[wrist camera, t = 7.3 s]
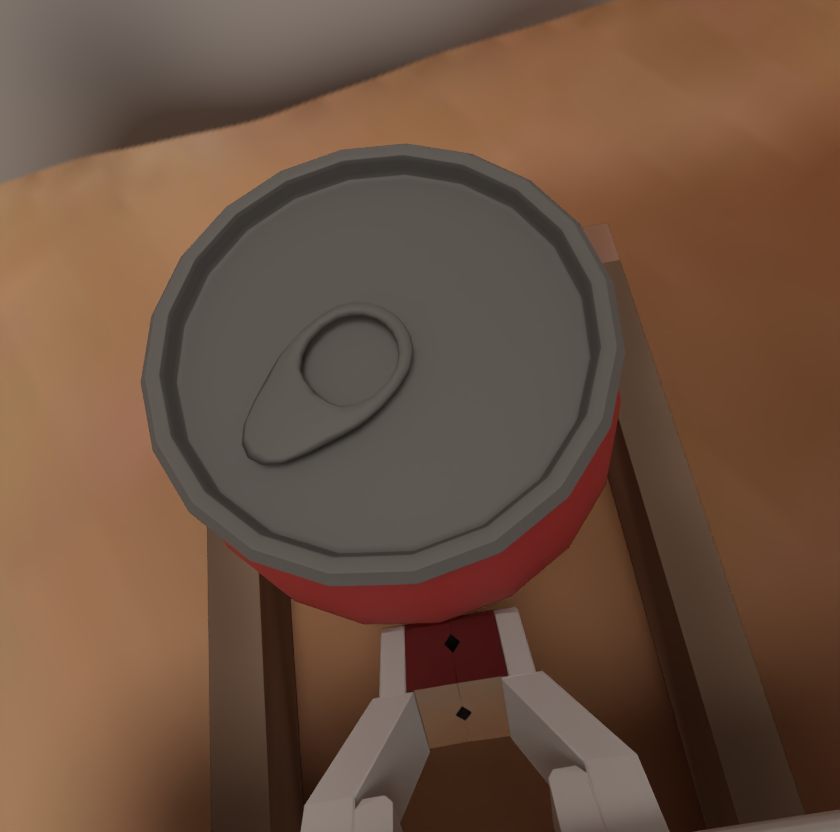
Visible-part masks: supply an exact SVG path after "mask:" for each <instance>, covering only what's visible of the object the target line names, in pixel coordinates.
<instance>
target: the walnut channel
mask: <svg viewBox="0 0 840 832" xmlns="http://www.w3.org/2000/svg"><path fill="white" fill-rule="evenodd" d="M582 229H583V230H584V232H585V234H586V236H587V237H588V239H589V241H590V243H591V244H592V246H593V248H594V250H595V251H596V253H597V255H598V256H599V258H600V260H601V262H602V263H603V265H604V267H605V269H606V270H607V272H608V274H609V276H610V277H611V279H612V281H613V283H614V289H615V295H616V301H617V306H618V312H619V318H620V324H621V330H622V336H623V342H624V347H625V357H624V362H623V367H622V372H621V377H620V383H619V391H620V397H621V405H620V410H619V416H618V422H617V427H616V432H615V438H614V443H613V448H612V453H611V459H610V464H609V469H608V478H609V482H610V486H611V489H612V493H613V496H614V500H615V504H616V507H617V511H618V514H619V518H620V521H621V525H622V529H623V532H624V536H625V539H626V543H627V546H628V550H629V554H630V557H631V561H632V564H633V568H634V572H635V575H636V579H637V582H638V586H639V589H640V593H641V597H642V600H643V604H644V607H645V611H646V615H647V618H648V622H649V625H650V629H651V632H652V636H653V640H654V643H655V647H656V650H657V654H658V658H659V661H660V665H661V668H662V672H663V675H664V679H665V683H666V686H667V690H668V693H669V697H670V700H671V704H672V708H673V711H674V715H675V718H676V722H677V726H678V729H679V733H680V736H681V740H682V743H683V747H684V751H685V754H686V758H687V761H688V765H689V769H690V772H691V776H692V779H693V783H694V786H695V790H696V794H697V797H698V801H699V804H700V808H701V811H702V815H703V819H704V822H705V826H706V829H713V828H720V827H726V826H733V825H740V824H746V823H753V822H759V821H766V820H773V819H779V818H786V817H792V816H799V815H806V814H805V811H804V808H803V805H802V802H801V799H800V796H799V793H798V790H797V787H796V784H795V781H794V778H793V775H792V772H791V769H790V766H789V763H788V760H787V757H786V755H785V752H784V749H783V746H782V743H781V740H780V737H779V734H778V731H777V728H776V725H775V722H774V719H773V716H772V713H771V710H770V707H769V704H768V701H767V698H766V695H765V692H764V689H763V686H762V683H761V680H760V677H759V674H758V671H757V668H756V665H755V662H754V659H753V656H752V653H751V650H750V647H749V644H748V641H747V638H746V635H745V632H744V629H743V626H742V623H741V620H740V617H739V614H738V611H737V608H736V605H735V602H734V599H733V596H732V593H731V590H730V587H729V584H728V581H727V578H726V575H725V572H724V569H723V566H722V563H721V560H720V557H719V555H718V552H717V549H716V546H715V543H714V540H713V537H712V534H711V531H710V528H709V525H708V522H707V519H706V516H705V513H704V510H703V507H702V504H701V501H700V498H699V495H698V492H697V489H696V486H695V483H694V480H693V477H692V474H691V471H690V468H689V465H688V462H687V459H686V456H685V453H684V450H683V447H682V444H681V441H680V438H679V435H678V432H677V429H676V426H675V423H674V420H673V417H672V414H671V411H670V408H669V405H668V402H667V399H666V396H665V393H664V390H663V387H662V384H661V381H660V378H659V375H658V372H657V369H656V366H655V363H654V360H653V357H652V354H651V352H650V349H649V346H648V343H647V340H646V337H645V334H644V331H643V328H642V325H641V322H640V319H639V316H638V313H637V310H636V307H635V304H634V301H633V298H632V295H631V292H630V289H629V286H628V283H627V280H626V277H625V274H624V271H623V268H622V265H621V262H620V259H619V256H618V253H617V250H616V247H615V244H614V241H613V238H612V235H611V232H610V229H609V226H608V223H603V224H597V225H592V226H587V227H582ZM207 560H208V631H209V702H210V774H211V832H301V826H302V819H303V812H304V807H303V791H302V776H301V760H300V745H299V729H298V713H297V698H296V682H295V667H294V651H293V636H292V620H291V604H290V597H289V596H288V595H286V594H285V593H284V592H283V591H281V590H280V589H279V588H278V587H276V586H275V585H274V584H273V583H271V582H270V581H269V580H268V579H266V578H265V577H264V576H263V575H261V574H260V573H259V572H258V571H256V570H255V569H254V568H253V567H251V566H250V565H249V564H248V563H246V562H245V561H244V560H243V559H241V558H240V557H239V556H238V555H236V554H235V553H234V552H233V551H231V550H230V549H229V548H228V547H227V546H226V545H225V543H224V541H223V540H222V538H221V537H220V536H218V535H217V534H216V533H215V532H213V531H212V530H211V529H210V528H208V527H207Z"/></svg>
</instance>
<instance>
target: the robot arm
mask: <svg viewBox="0 0 840 832" xmlns="http://www.w3.org/2000/svg"><path fill="white" fill-rule="evenodd" d="M508 736H511V739H512V740H513V741H514V743H515V744H516V745H517V746H518V748H519V749H520V750H521V751H522V753H523V754H524V755H525V756H526V757H527V759H528V760H529V761H530V762H531V764H532V765H533V766H534V767H535V769H536V770H537V771H538V772H539V774H540V775H541V776H542V777H543V778H544V780H545V781H546V782H547V783H548V785H549V789H550V798H551V808H552V817H553V826H554V832H670V831H669V829H668V827H667V824H666V822H665V819H664V817H663V815H662V812H661V810H660V808H659V805H658V803H657V800H656V798H655V796H654V793H653V791H652V789H651V786H650V784H649V781H648V779H647V777H646V774H645V772H644V770H643V767H642V765H641V762H640V760H639V758H638V755H637V754H636V753H635V752H634V751H633V750H632V749H630V748H629V747H628V746H627V745H626V744H625V743H624V742H623V741H621V740H620V739H619V738H618V737H617V736H616V735H615V734H614V733H612V732H611V731H610V730H609V729H608V728H607V727H606V726H605V725H603V724H602V723H601V722H600V721H599V720H598V719H597V718H596V717H594V716H593V715H592V714H591V713H590V712H589V711H588V710H587V709H585V708H584V707H583V706H582V705H581V704H580V703H579V702H578V701H576V700H575V699H574V698H573V697H572V696H571V695H570V694H569V693H567V692H566V691H565V690H564V689H563V688H562V687H561V686H560V685H558V684H557V683H556V682H555V681H554V680H553V679H552V678H551V677H549V676H548V675H547V674H546V673H545V672H544V671H538V672H536V670H535V666H534V663H533V659H532V656H531V652H530V649H529V645H528V642H527V639H526V635H525V632H524V628H523V625H522V621H521V618H520V614H519V611H518V609H517V608H516V606H515V607H509V608H504V609H498V610H494V612H493V610H490V611H485V612H479V613H474V614H468V615H463V616H457V617H454V618H451V619H448V620H446V621H443V622H440V623H414V624H407V625H402V626H396V627H389V628H383V630H382V633H381V653H380V689H379V697H378V698H373V699H372V700H371V702H370V703H369V705H368V707H367V708H366V710H365V711H364V713H363V714H362V716H361V718H360V719H359V721H358V722H357V724H356V725H355V727H354V728H353V730H352V732H351V733H350V735H349V736H348V738H347V739H346V741H345V743H344V744H343V746H342V747H341V749H340V750H339V752H338V754H337V755H336V757H335V758H334V760H333V761H332V763H331V765H330V766H329V768H328V769H327V771H326V772H325V774H324V776H323V777H322V779H321V780H320V782H319V783H318V785H317V787H316V788H315V790H314V791H313V793H312V794H311V796H310V798H309V799H308V801H307V802H306V804H305V805H304V812H303V819H302V826H301V832H403V830H402V827H401V824H400V823H401V820H402V818H403V816H404V813H405V811H406V808H407V806H408V804H409V801H410V799H411V796H412V794H413V792H414V789H415V787H416V784H417V782H418V780H419V777H420V775H421V772H422V770H423V768H424V765H425V763H426V760H427V758H428V755H429V753H430V750H429V749H432V748H438V747H443V746H448V745H453V744H458V743H464V742H469V739H470V741H477V740H484V739H492V738H500V737H508ZM694 832H840V809H839V810H832V811H825V812H819V813H812V814H806V815H799V816H792V817H786V818H779V819H773V820H766V821H759V822H753V823H746V824H740V825H733V826H726V827H720V828H713V829H707V830H700V831H694Z"/></svg>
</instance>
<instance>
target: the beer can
mask: <svg viewBox="0 0 840 832" xmlns="http://www.w3.org/2000/svg"><path fill="white" fill-rule="evenodd" d="M624 357H625V347H624V342H623V336H622V330H621V324H620V318H619V312H618V306H617V301H616V295H615V289H614V283H613V281H612V279H611V277H610V276H609V274H608V272H607V270H606V269H605V267H604V265H603V263H602V262H601V260H600V258H599V256H598V255H597V253H596V251H595V250H594V248H593V246H592V244H591V243H590V241H589V239H588V237H587V236H586V234H585V232H584V230H583V229H582V227H581V225H580V224H579V223H578V222H577V221H576V220H575V219H574V218H572V217H571V216H570V215H569V214H568V213H567V212H566V211H565V210H563V209H562V208H561V207H560V206H559V205H558V204H557V203H555V202H554V201H553V200H552V199H551V198H550V197H549V196H548V195H546V194H545V193H544V192H543V191H542V190H541V189H540V188H538V187H537V186H536V185H535V184H534V183H533V182H532V181H530V180H528V179H526V178H524V177H522V176H519V175H517V174H515V173H513V172H510V171H508V170H506V169H504V168H502V167H499V166H497V165H495V164H493V163H491V162H488V161H486V160H484V159H482V158H480V157H477V156H475V155H473V154H469V153H463V152H456V151H450V150H444V149H437V148H431V147H424V146H418V145H412V144H397V145H386V146H376V147H366V148H356V149H345V150H339V151H337V152H334V153H331V154H328V155H325V156H322V157H320V158H317V159H314V160H311V161H308V162H305V163H303V164H300V165H297V166H294V167H291V168H289V169H286V170H283V171H280V172H279V173H277V174H276V175H274V176H273V177H271V178H270V179H268V180H267V181H265V182H264V183H262V184H261V185H259V186H257V187H256V188H254V189H253V190H251V191H250V192H248V193H247V194H245V195H244V196H242V197H241V198H239V199H238V200H236V201H235V202H233V203H232V204H230V205H229V206H227V207H226V208H225V209H224V210H223V211H222V212H221V213H220V215H219V216H218V217H217V218H216V219H215V220H214V221H213V222H212V223H211V224H210V226H209V227H208V228H207V229H206V230H205V231H204V232H203V233H202V234H201V236H200V237H199V238H198V239H197V240H196V241H195V242H194V243H193V244H192V245H191V247H190V248H189V249H188V250H187V251H186V252H185V253H184V254H183V255H182V256H181V258H180V260H179V262H178V264H177V266H176V268H175V270H174V272H173V274H172V276H171V278H170V280H169V282H168V284H167V286H166V288H165V290H164V292H163V294H162V296H161V298H160V300H159V302H158V304H157V306H156V308H155V310H154V312H153V314H152V316H151V322H150V329H149V335H148V341H147V347H146V353H145V360H144V366H143V372H142V378H141V386H142V392H143V398H144V403H145V409H146V415H147V421H148V426H149V432H150V438H151V443H152V449H153V452H154V453H155V455H156V457H157V458H158V460H159V462H160V463H161V465H162V467H163V468H164V470H165V472H166V474H167V475H168V477H169V479H170V480H171V482H172V484H173V485H174V487H175V489H176V491H177V492H178V494H179V496H180V497H181V499H182V501H183V502H184V504H185V506H186V508H187V509H188V511H189V513H191V514H192V515H193V516H195V517H196V518H197V519H198V520H200V521H201V522H202V523H203V524H205V525H206V526H207V527H208V528H210V529H211V530H212V531H213V532H215V533H216V534H217V535H218V536H220V537H221V538H222V540H223V541H224V543H225V545H226V546H227V547H228V548H229V549H230V550H231V551H233V552H234V553H235V554H236V555H238V556H239V557H240V558H241V559H243V560H244V561H245V562H246V563H248V564H249V565H250V566H251V567H253V568H254V569H255V570H256V571H258V572H259V573H260V574H261V575H263V576H264V577H265V578H266V579H268V580H269V581H270V582H271V583H273V584H274V585H275V586H276V587H278V588H279V589H280V590H281V591H283V592H284V593H285V594H286V595H288V596H289V597H290V598H292V599H293V600H294V601H296V602H299V603H302V604H305V605H308V606H311V607H314V608H317V609H320V610H323V611H326V612H329V613H332V614H335V615H338V616H341V617H344V618H347V619H350V620H353V621H356V622H359V623H362V624H404V623H440V622H443V621H446V620H448V619H451V618H454V617H456V616H459V615H462V614H464V613H467V612H470V611H472V610H475V609H478V608H480V607H483V606H486V605H488V604H491V603H493V602H496V601H499V600H501V599H504V598H507V597H509V596H512V595H513V594H514V593H515V592H516V591H518V590H519V589H520V588H521V587H522V586H524V585H525V584H526V583H527V582H528V581H530V580H531V579H532V578H533V577H534V576H536V575H537V574H538V573H539V572H540V571H541V570H543V569H544V568H545V567H546V566H547V565H549V564H550V563H551V562H552V561H553V560H555V559H556V558H557V557H558V556H559V555H561V554H562V553H563V552H564V551H565V550H566V549H568V548H569V546H570V545H571V543H572V541H573V540H574V538H575V536H576V535H577V533H578V531H579V530H580V528H581V526H582V524H583V523H584V521H585V519H586V518H587V516H588V514H589V513H590V511H591V509H592V507H593V506H594V504H595V502H596V501H597V499H598V497H599V496H600V494H601V492H602V490H603V489H604V487H605V485H606V480H607V475H608V469H609V464H610V459H611V453H612V448H613V443H614V438H615V432H616V427H617V422H618V416H619V410H620V405H621V397H620V391H619V383H620V377H621V372H622V367H623V362H624Z"/></svg>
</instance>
